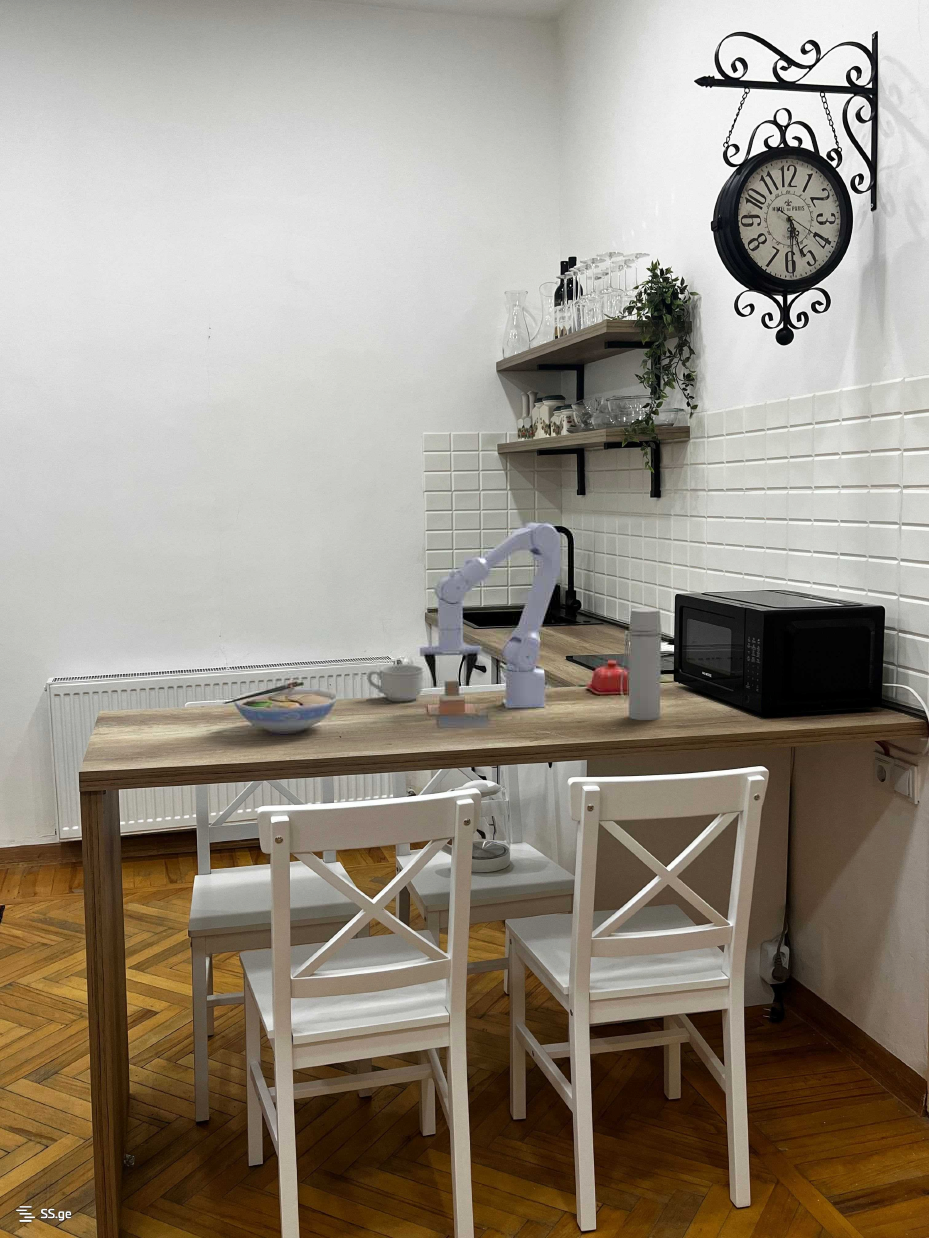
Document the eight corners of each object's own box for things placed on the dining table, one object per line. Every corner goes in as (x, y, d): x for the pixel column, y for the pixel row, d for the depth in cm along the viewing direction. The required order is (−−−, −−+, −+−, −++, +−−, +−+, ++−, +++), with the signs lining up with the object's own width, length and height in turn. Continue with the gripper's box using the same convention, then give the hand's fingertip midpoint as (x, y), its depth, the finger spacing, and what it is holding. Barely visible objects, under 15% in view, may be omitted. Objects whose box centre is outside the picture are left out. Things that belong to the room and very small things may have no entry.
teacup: (426, 695, 273) (425, 664, 272) (420, 704, 262) (420, 671, 261) (372, 694, 274) (371, 664, 273) (364, 703, 264) (363, 671, 263)
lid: (461, 695, 254) (461, 679, 254) (464, 699, 249) (464, 683, 249) (439, 696, 253) (439, 680, 253) (442, 700, 248) (442, 684, 248)
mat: (487, 716, 247) (487, 714, 247) (492, 728, 235) (492, 726, 235) (435, 717, 246) (435, 716, 246) (438, 729, 234) (438, 727, 234)
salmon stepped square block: (472, 705, 259) (472, 691, 259) (476, 715, 248) (476, 700, 248) (427, 706, 258) (427, 692, 258) (429, 716, 248) (428, 701, 247)
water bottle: (664, 717, 244) (666, 608, 241) (655, 724, 237) (657, 612, 234) (625, 714, 248) (626, 607, 245) (615, 721, 241) (616, 610, 238)
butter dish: (640, 696, 270) (640, 663, 269) (596, 698, 268) (596, 664, 267) (626, 688, 281) (626, 656, 280) (583, 689, 279) (583, 657, 278)
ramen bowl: (288, 748, 218) (287, 709, 217) (207, 735, 230) (206, 698, 229) (363, 725, 239) (362, 689, 238) (285, 714, 251) (284, 680, 250)
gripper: (479, 625, 255) (480, 681, 257) (419, 626, 254) (419, 683, 256) (482, 629, 248) (482, 687, 250) (420, 630, 247) (420, 688, 249)
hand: (451, 685), depth 253 cm, fingers open, 7 cm apart
